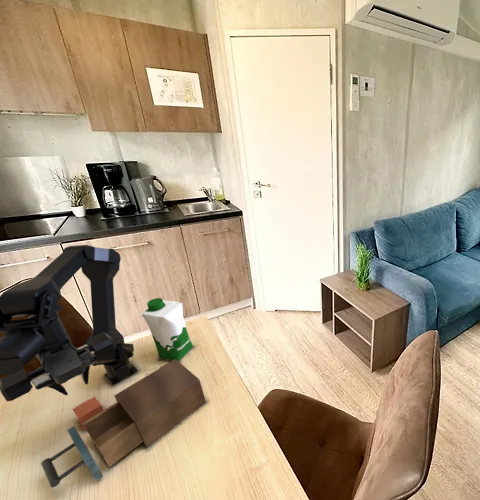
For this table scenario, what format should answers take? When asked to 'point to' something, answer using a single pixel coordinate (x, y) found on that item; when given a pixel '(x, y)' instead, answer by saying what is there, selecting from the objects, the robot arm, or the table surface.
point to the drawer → (99, 442)
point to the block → (87, 410)
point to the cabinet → (162, 400)
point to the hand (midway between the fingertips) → (76, 388)
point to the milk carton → (168, 328)
